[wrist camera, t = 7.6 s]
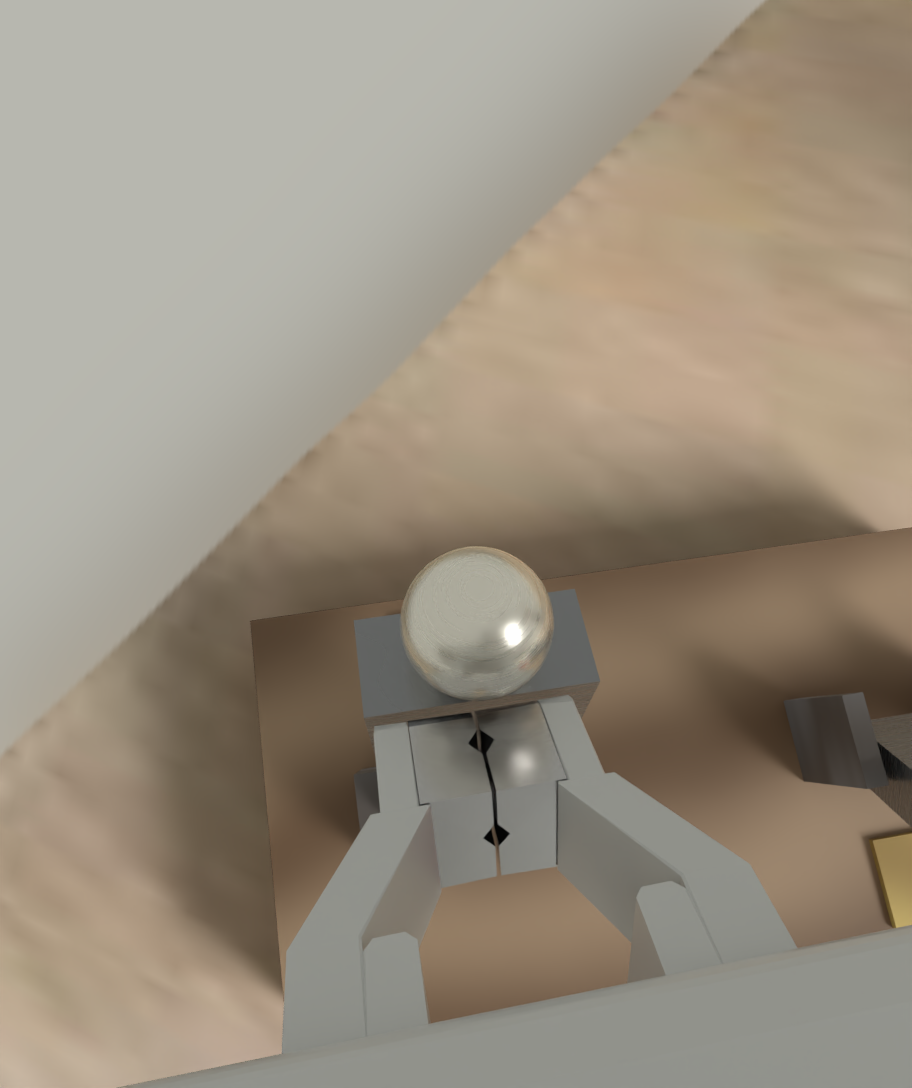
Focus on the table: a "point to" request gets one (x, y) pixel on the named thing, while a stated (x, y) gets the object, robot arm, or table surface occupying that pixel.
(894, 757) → the grey knob lever
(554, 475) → the table surface
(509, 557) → the cream knob lever
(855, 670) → the switch box
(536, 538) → the table surface
